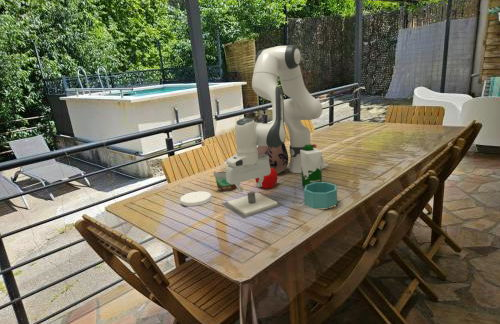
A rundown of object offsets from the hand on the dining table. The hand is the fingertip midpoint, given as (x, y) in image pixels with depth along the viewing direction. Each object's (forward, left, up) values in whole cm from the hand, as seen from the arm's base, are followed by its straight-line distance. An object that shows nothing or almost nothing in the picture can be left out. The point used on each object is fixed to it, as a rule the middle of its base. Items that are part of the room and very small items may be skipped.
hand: (250, 189), depth 147 cm
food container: (-1, -24, -8) cm, 25 cm away
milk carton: (-33, +1, -8) cm, 34 cm away
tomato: (-18, -15, -8) cm, 25 cm away
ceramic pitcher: (-32, -33, -8) cm, 47 cm away
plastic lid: (+17, -22, -8) cm, 29 cm away
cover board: (0, 0, -7) cm, 7 cm away
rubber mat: (0, 0, -8) cm, 8 cm away
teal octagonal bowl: (-23, +18, -8) cm, 30 cm away
